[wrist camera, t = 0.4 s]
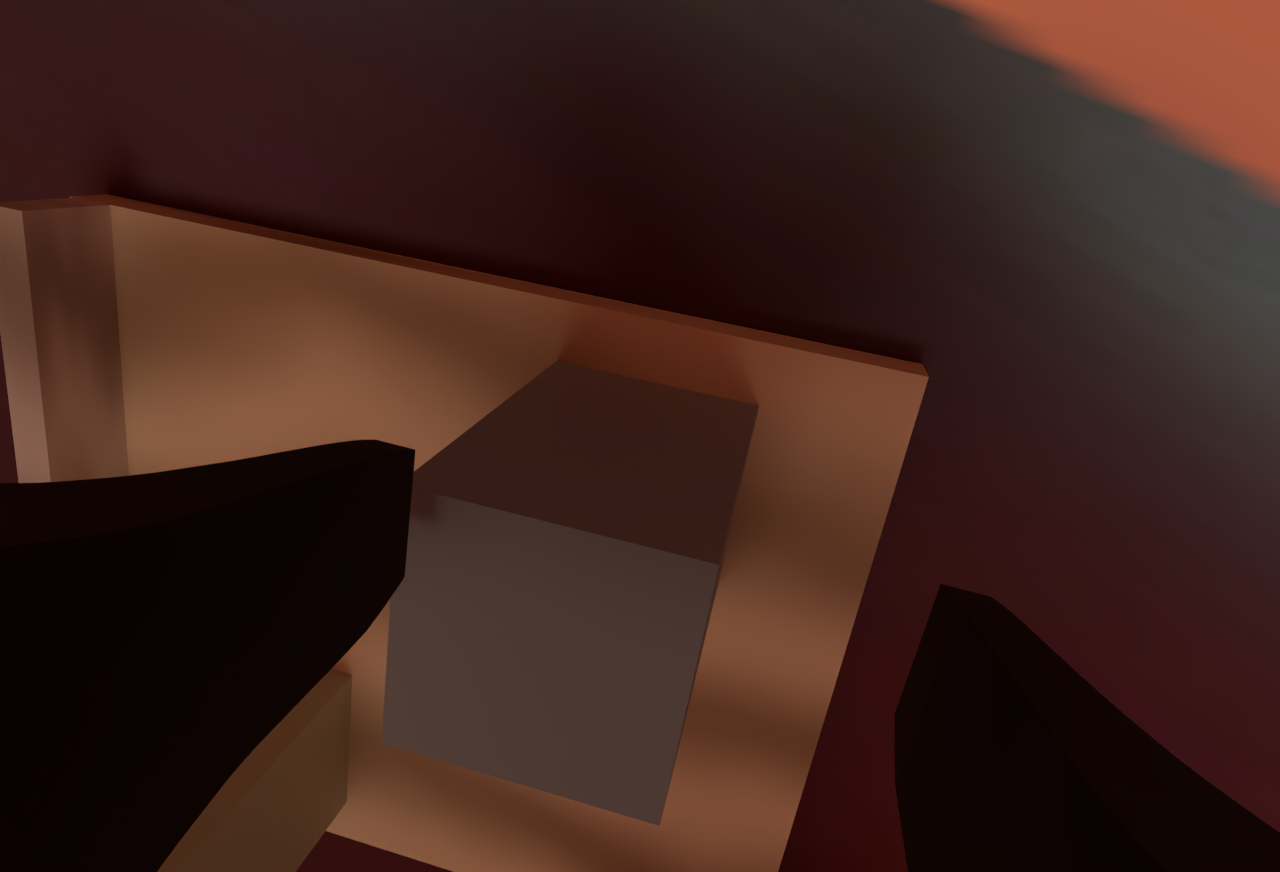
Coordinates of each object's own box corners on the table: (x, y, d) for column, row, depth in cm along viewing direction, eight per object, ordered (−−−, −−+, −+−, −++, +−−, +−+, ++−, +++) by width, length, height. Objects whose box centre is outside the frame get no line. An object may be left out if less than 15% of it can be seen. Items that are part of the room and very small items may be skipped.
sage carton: (346, 801, 26) (158, 1057, 19) (202, 757, 27) (-33, 986, 19) (352, 675, 24) (147, 902, 17) (198, 630, 25) (-64, 829, 18)
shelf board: (752, 931, 26) (741, 1049, 22) (142, 740, 29) (51, 818, 26) (922, 364, 19) (944, 409, 16) (103, 193, 22) (-28, 200, 19)
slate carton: (715, 594, 21) (658, 835, 14) (532, 547, 22) (380, 751, 14) (759, 405, 19) (718, 564, 12) (556, 360, 20) (397, 484, 12)
